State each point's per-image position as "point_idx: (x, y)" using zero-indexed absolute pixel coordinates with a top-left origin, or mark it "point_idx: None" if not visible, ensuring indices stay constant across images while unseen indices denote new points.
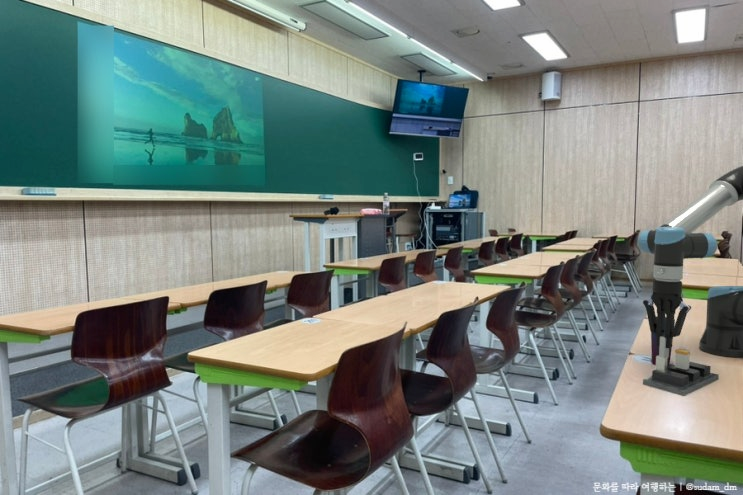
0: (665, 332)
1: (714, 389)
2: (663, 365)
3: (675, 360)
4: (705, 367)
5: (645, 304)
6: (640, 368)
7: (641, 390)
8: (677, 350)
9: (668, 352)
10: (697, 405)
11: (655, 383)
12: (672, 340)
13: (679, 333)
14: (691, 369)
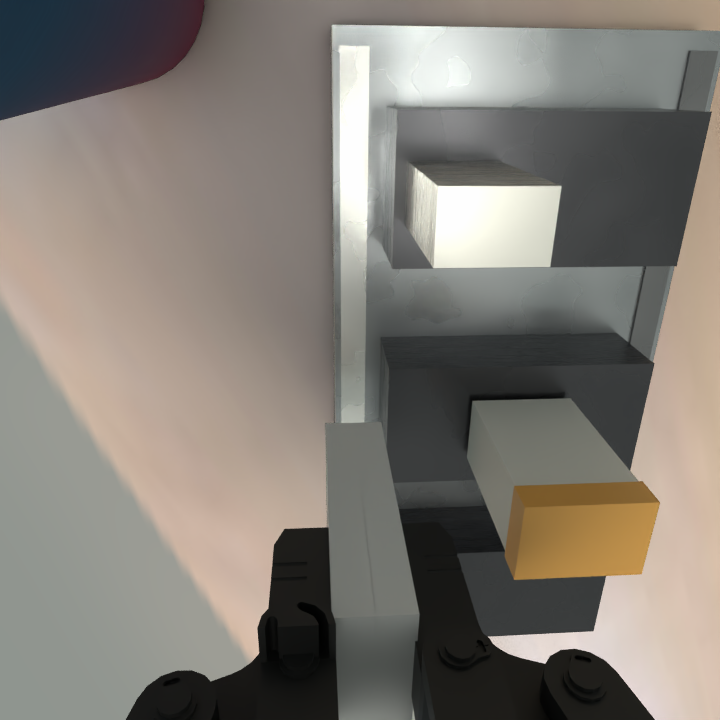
0: (44, 75)
1: (704, 335)
2: None
3: (487, 499)
4: (674, 207)
5: None
6: (102, 303)
7: None
8: (536, 575)
9: (387, 462)
10: (669, 646)
11: None
12: (469, 597)
13: (624, 715)
14: (586, 385)
